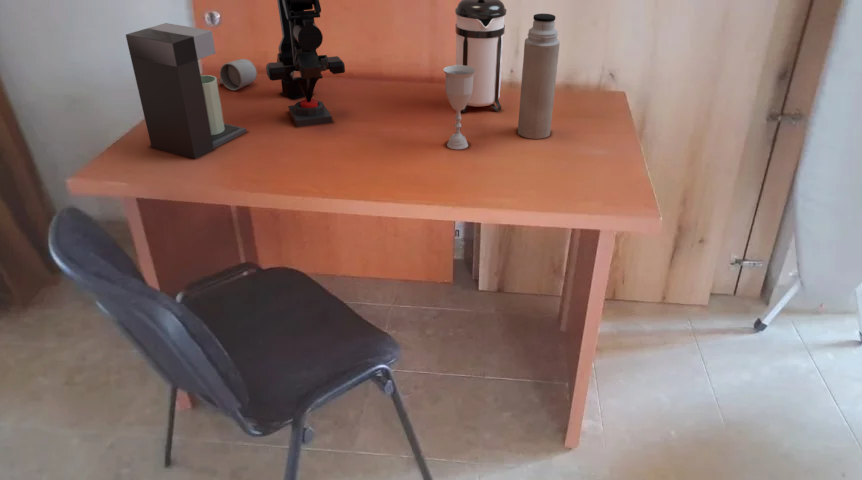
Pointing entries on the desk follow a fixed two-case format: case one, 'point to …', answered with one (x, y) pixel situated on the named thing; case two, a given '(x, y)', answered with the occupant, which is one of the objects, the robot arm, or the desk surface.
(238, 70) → the ceramic mug
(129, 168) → the desk surface
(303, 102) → the button
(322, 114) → the button pad
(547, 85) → the thermos bottle
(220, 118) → the cup
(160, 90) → the coffee maker
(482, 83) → the coffee press
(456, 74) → the chalice
